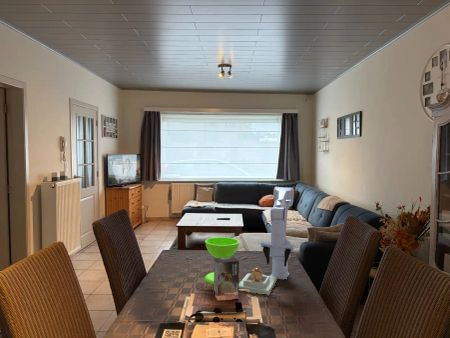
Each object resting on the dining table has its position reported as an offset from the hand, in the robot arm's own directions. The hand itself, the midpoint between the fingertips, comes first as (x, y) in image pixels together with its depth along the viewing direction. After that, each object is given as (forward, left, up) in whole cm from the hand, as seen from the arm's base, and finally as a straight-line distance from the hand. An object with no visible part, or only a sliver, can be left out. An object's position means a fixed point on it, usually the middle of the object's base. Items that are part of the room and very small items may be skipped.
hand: (276, 264), depth 160 cm
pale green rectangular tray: (+1, -8, -10) cm, 13 cm away
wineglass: (-1, -26, -11) cm, 28 cm away
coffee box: (+19, -17, -11) cm, 28 cm away
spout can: (+3, -8, -8) cm, 12 cm away
